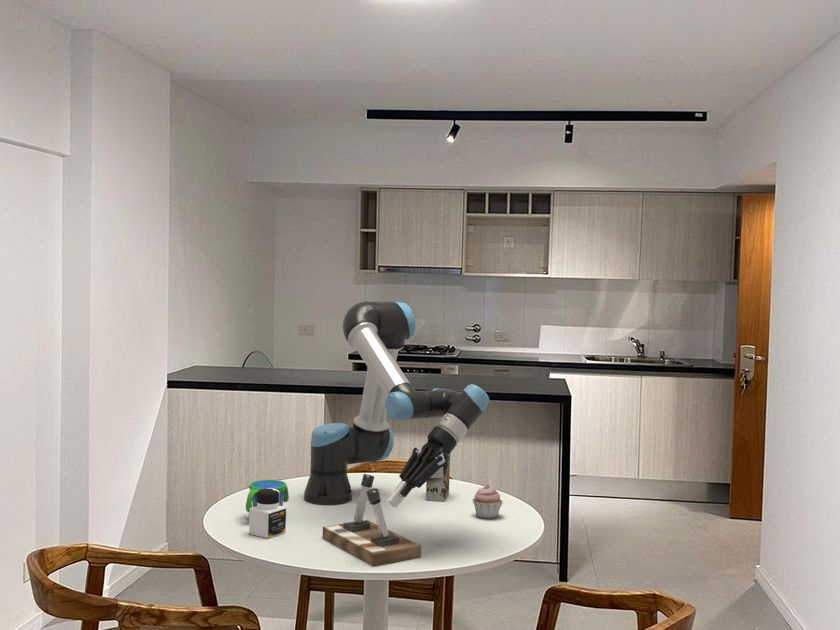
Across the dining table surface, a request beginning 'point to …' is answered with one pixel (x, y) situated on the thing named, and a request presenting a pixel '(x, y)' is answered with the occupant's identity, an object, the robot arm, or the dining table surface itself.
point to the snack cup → (264, 484)
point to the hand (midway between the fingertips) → (391, 504)
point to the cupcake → (487, 502)
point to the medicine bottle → (267, 515)
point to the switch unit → (371, 543)
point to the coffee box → (439, 483)
